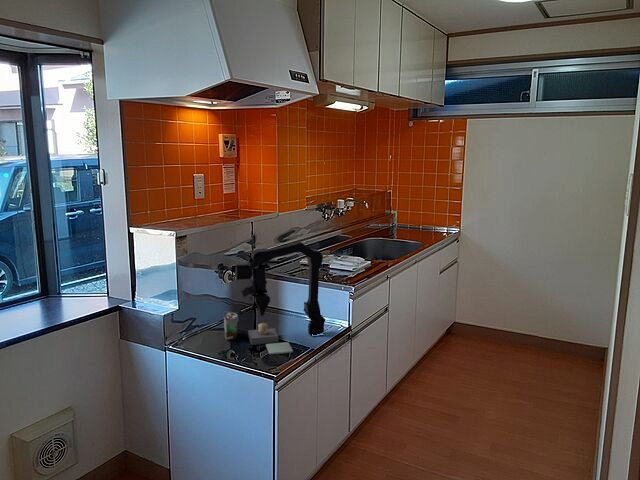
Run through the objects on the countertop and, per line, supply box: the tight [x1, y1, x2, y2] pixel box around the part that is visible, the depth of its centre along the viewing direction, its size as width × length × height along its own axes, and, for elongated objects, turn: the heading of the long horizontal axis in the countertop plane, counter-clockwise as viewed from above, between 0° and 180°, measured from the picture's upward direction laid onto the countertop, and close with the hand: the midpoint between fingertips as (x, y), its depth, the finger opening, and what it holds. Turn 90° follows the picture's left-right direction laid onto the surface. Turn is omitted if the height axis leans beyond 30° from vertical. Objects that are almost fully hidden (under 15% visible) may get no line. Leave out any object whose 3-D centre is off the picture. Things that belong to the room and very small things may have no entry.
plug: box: [258, 322, 269, 335], centre depth 222 cm, size 4×4×7 cm
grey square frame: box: [247, 327, 279, 346], centre depth 222 cm, size 12×10×3 cm
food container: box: [223, 311, 240, 341], centre depth 224 cm, size 12×6×10 cm, turn 17°
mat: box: [265, 341, 294, 355], centre depth 212 cm, size 10×10×1 cm
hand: (260, 312), depth 220 cm, fingers open, 9 cm apart
